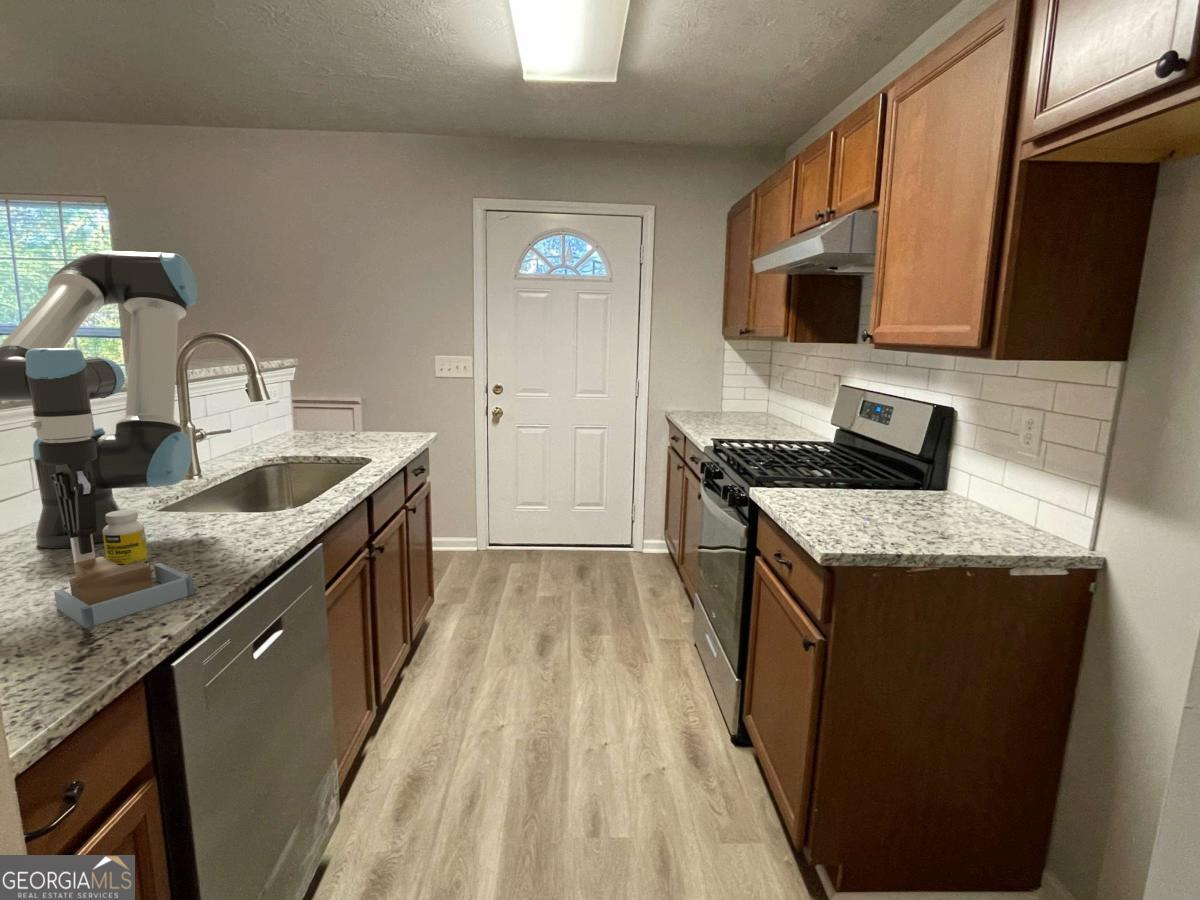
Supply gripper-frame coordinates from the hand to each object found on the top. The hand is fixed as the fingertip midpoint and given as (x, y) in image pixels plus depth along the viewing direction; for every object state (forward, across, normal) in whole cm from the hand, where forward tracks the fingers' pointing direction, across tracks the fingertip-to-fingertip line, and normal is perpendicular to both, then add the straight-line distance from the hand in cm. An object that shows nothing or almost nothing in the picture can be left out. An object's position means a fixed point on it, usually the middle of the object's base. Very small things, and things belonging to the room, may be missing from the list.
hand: (86, 569), depth 110 cm
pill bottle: (+2, 0, +6) cm, 7 cm away
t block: (+2, +7, 0) cm, 7 cm away
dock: (+2, +16, 0) cm, 16 cm away
